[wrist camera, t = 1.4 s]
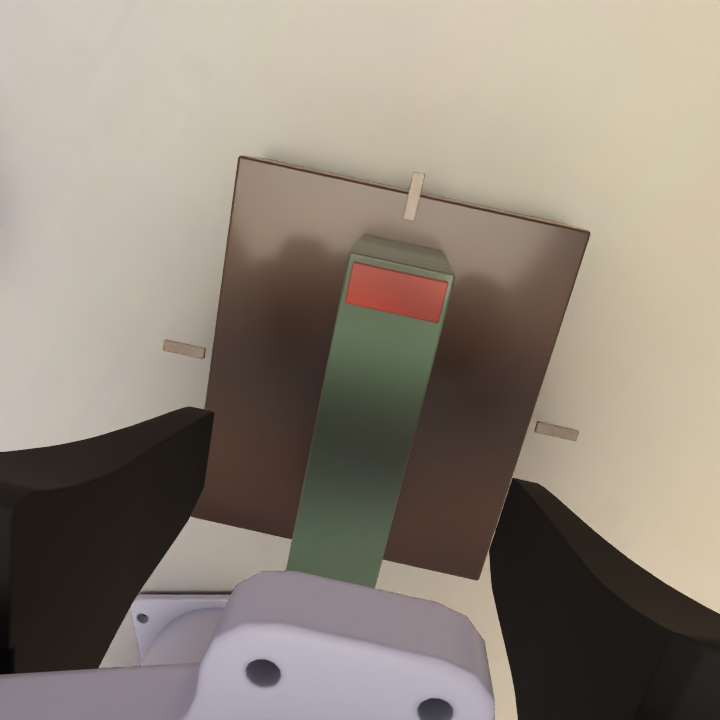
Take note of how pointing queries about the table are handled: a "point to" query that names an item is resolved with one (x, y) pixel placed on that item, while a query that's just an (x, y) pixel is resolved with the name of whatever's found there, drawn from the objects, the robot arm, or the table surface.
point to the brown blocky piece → (314, 336)
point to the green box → (369, 407)
